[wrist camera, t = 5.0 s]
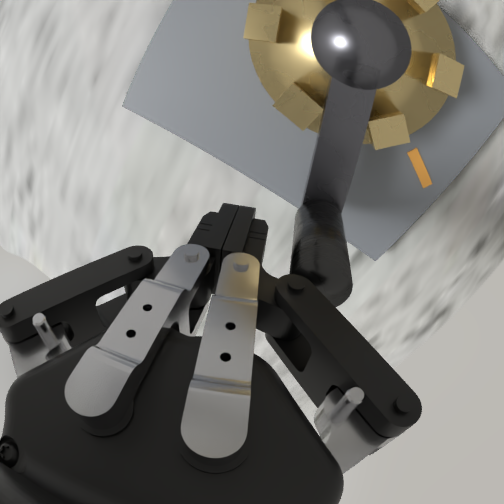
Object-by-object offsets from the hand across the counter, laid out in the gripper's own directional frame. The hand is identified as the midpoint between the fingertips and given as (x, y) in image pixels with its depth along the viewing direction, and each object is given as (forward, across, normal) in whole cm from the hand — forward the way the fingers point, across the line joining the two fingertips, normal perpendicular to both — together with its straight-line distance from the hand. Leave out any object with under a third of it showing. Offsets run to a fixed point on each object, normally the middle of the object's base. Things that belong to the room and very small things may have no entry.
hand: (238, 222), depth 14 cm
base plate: (+7, -3, -7) cm, 10 cm away
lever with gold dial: (+5, -4, -6) cm, 9 cm away
